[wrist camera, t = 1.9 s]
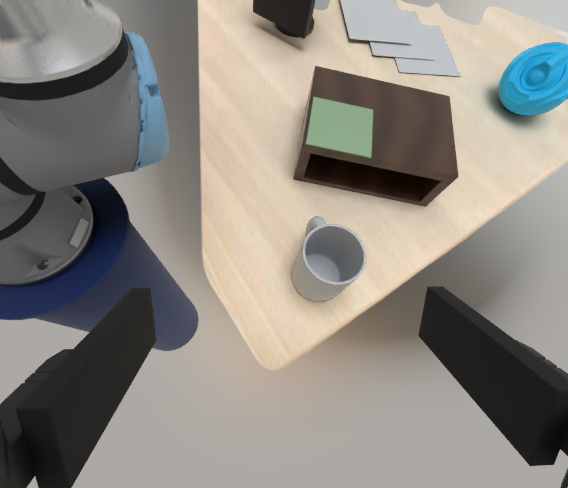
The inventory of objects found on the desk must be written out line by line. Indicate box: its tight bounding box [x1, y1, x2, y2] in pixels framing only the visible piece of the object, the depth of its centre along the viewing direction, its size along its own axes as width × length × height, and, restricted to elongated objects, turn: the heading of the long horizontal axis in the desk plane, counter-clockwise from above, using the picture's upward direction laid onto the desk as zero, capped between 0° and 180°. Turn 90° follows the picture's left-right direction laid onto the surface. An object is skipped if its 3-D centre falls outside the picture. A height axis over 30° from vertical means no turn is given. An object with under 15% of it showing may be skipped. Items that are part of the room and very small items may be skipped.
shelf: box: [293, 66, 458, 206], centre depth 47 cm, size 22×16×8 cm
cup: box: [292, 216, 366, 302], centre depth 37 cm, size 7×10×9 cm
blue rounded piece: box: [499, 42, 568, 115], centre depth 55 cm, size 12×11×12 cm
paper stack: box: [340, 0, 461, 76], centre depth 65 cm, size 23×25×1 cm
